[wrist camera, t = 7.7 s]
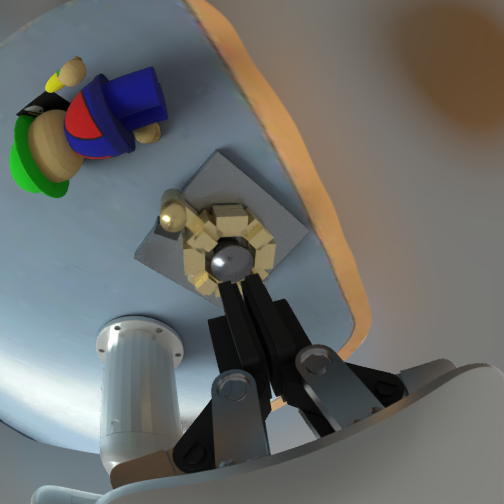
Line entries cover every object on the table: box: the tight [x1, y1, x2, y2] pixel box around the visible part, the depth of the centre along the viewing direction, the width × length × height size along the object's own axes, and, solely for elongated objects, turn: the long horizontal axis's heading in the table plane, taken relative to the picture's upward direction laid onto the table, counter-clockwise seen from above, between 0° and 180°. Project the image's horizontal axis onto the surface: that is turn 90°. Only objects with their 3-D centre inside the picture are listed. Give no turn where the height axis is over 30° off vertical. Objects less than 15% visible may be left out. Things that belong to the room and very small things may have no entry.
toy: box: [9, 56, 168, 198], centre depth 18 cm, size 12×9×15 cm
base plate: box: [134, 150, 309, 308], centre depth 29 cm, size 14×15×6 cm
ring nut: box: [160, 189, 276, 297], centre depth 27 cm, size 13×9×5 cm
